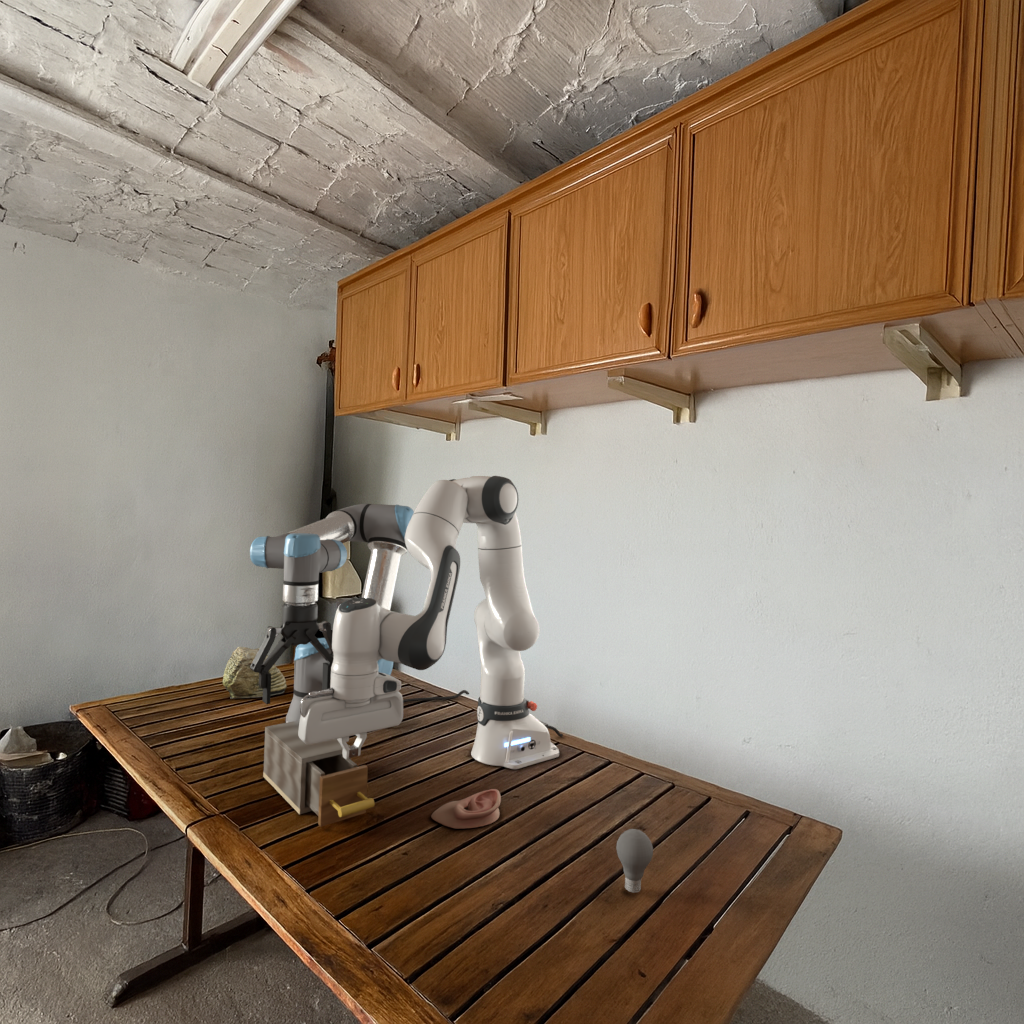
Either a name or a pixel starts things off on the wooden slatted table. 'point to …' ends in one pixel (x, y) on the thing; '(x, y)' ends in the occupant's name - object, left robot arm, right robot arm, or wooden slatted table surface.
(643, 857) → the light bulb
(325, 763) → the drawer
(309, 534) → the left robot arm
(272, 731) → the cabinet
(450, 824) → the anatomical model
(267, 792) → the wooden slatted table surface
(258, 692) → the fossil
